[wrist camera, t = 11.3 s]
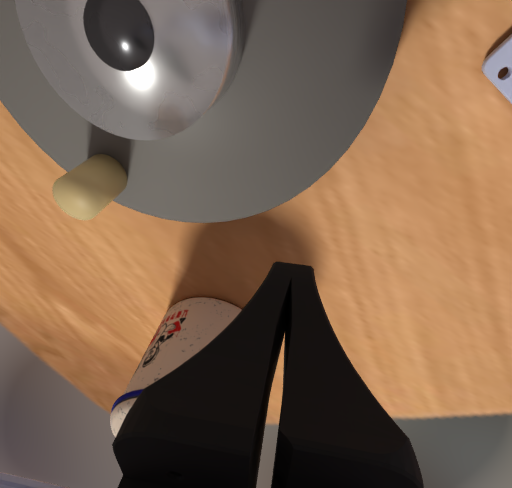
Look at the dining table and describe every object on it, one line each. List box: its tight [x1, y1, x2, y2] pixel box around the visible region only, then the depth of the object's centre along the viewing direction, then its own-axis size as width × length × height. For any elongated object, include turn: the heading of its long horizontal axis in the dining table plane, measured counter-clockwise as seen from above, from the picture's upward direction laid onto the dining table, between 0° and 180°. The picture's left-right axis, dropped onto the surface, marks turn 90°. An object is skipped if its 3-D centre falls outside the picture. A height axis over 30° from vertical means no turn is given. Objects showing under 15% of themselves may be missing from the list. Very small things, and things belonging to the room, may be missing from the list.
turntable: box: [0, 0, 407, 223], centre depth 15 cm, size 20×20×5 cm
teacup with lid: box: [110, 297, 242, 438], centre depth 26 cm, size 12×9×12 cm
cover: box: [15, 0, 245, 140], centre depth 14 cm, size 8×8×3 cm
